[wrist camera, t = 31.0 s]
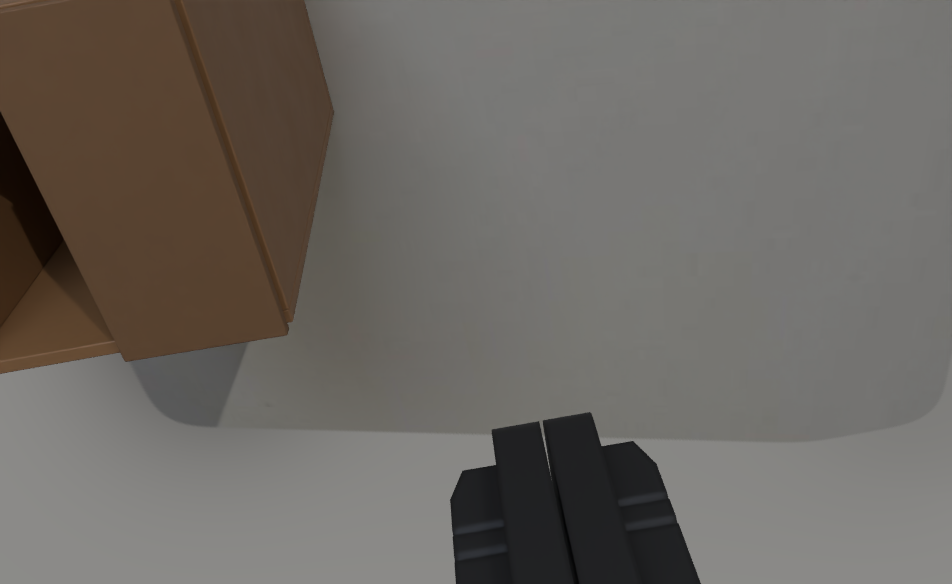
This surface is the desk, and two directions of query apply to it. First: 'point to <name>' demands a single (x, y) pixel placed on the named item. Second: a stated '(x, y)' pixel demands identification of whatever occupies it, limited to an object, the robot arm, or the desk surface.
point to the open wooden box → (249, 149)
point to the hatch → (136, 173)
